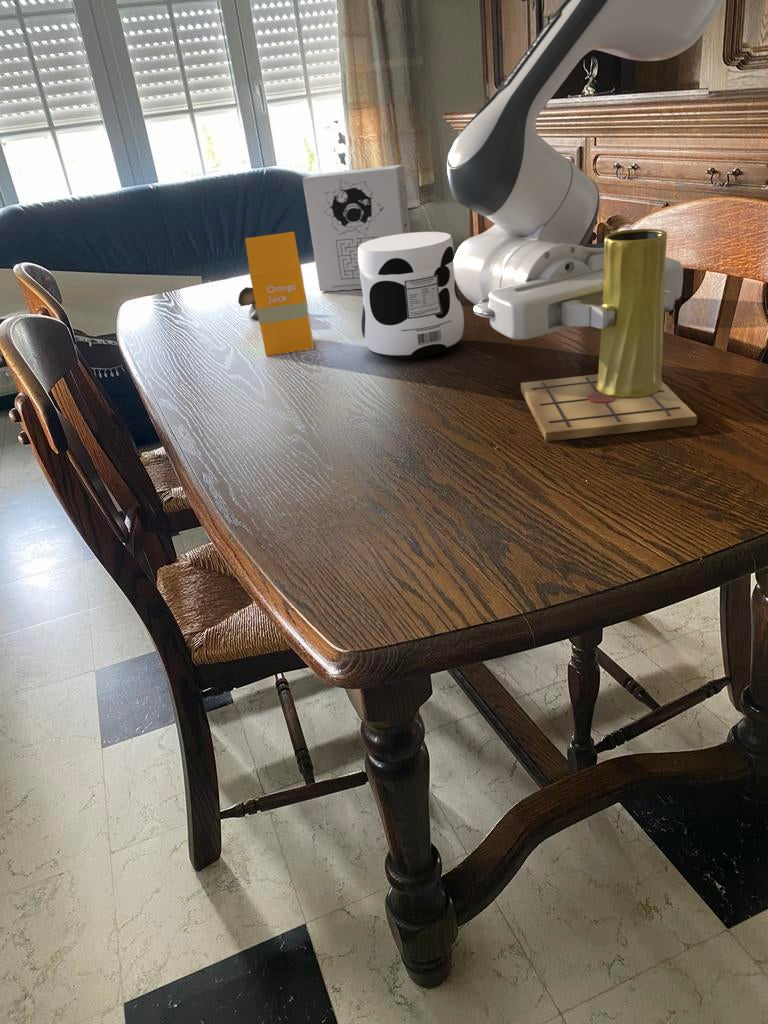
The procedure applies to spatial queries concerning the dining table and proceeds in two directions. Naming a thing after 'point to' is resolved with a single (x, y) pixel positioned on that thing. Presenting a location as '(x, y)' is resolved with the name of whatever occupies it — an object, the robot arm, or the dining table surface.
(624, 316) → the vase
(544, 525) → the dining table surface
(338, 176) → the cereal box
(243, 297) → the eagle figurine
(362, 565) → the dining table surface
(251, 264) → the orange juice
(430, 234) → the milk container
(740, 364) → the dining table surface
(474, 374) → the dining table surface
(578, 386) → the board
